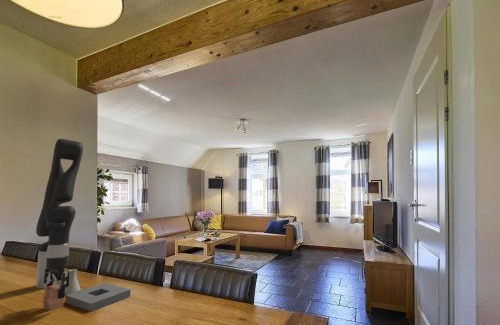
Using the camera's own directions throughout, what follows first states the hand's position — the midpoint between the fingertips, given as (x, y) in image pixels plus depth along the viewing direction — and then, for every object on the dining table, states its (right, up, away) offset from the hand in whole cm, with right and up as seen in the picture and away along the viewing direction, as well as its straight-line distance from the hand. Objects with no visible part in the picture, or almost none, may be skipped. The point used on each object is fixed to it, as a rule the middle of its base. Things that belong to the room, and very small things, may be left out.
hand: (55, 296), depth 113 cm
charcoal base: (+13, -5, +8) cm, 16 cm away
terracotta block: (-1, -4, 0) cm, 4 cm away
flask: (-4, -6, +16) cm, 18 cm away
